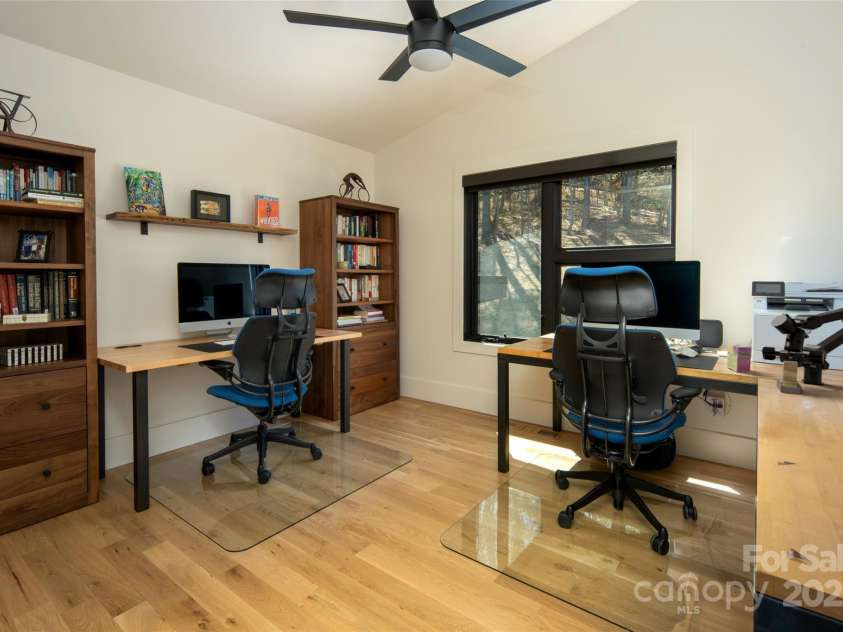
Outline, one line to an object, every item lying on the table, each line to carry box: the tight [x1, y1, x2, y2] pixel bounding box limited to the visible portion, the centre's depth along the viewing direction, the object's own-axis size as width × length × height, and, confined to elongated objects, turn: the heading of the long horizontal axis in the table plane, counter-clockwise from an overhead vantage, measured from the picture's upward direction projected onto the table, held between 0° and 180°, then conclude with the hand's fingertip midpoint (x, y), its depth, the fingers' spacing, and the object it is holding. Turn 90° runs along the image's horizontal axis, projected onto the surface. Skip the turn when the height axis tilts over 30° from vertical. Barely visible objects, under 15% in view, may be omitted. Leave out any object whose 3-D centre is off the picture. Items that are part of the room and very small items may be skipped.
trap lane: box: [776, 378, 803, 395], centre depth 177 cm, size 12×6×3 cm, turn 149°
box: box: [726, 343, 752, 373], centre depth 216 cm, size 10×6×12 cm, turn 168°
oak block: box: [781, 361, 799, 387], centre depth 176 cm, size 4×4×9 cm
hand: (788, 372), depth 178 cm, fingers closed
